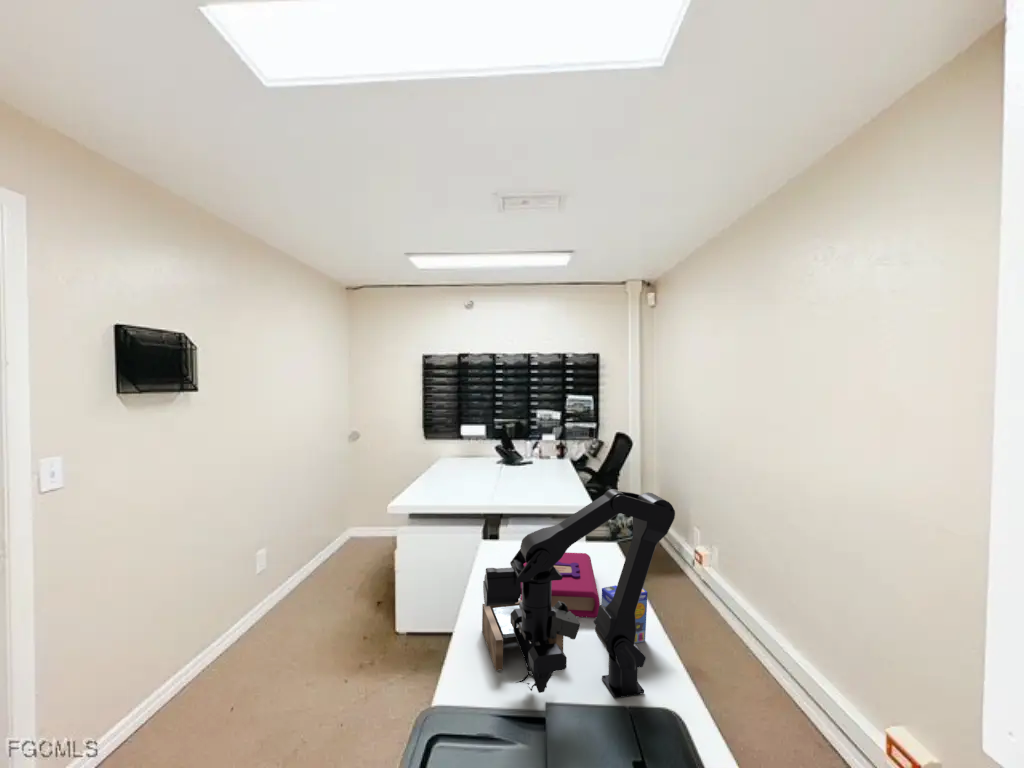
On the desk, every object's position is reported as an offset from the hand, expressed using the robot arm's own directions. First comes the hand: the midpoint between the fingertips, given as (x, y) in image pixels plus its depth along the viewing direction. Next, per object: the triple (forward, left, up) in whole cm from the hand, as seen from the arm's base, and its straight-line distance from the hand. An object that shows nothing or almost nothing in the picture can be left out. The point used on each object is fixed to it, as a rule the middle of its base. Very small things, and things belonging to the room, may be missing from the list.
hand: (535, 680), depth 96 cm
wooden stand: (+17, -1, -3) cm, 18 cm away
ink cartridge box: (+15, -26, -3) cm, 30 cm away
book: (+42, -19, -4) cm, 46 cm away
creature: (0, 0, -1) cm, 1 cm away
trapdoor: (+17, -1, +3) cm, 18 cm away
